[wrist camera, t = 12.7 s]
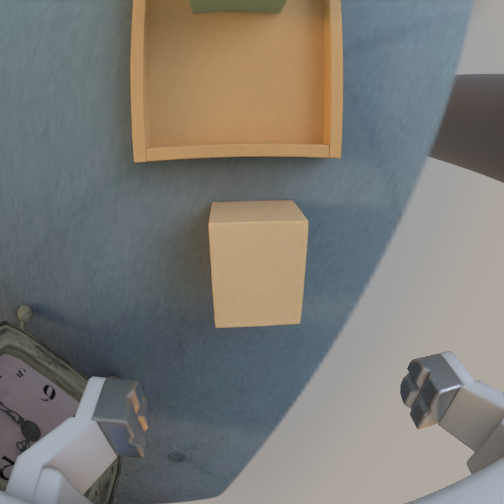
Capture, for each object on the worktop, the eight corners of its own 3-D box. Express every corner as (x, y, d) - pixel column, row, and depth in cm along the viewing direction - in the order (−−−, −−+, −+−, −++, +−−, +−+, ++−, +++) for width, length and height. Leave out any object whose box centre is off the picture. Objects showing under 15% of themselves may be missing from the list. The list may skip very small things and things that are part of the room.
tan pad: (293, 199, 21) (309, 220, 17) (289, 289, 24) (300, 324, 20) (211, 201, 21) (208, 223, 17) (216, 292, 24) (215, 328, 20)
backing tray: (325, -73, 13) (332, -84, 11) (331, 154, 20) (341, 158, 19) (149, -73, 12) (144, -85, 10) (142, 158, 20) (133, 163, 18)
